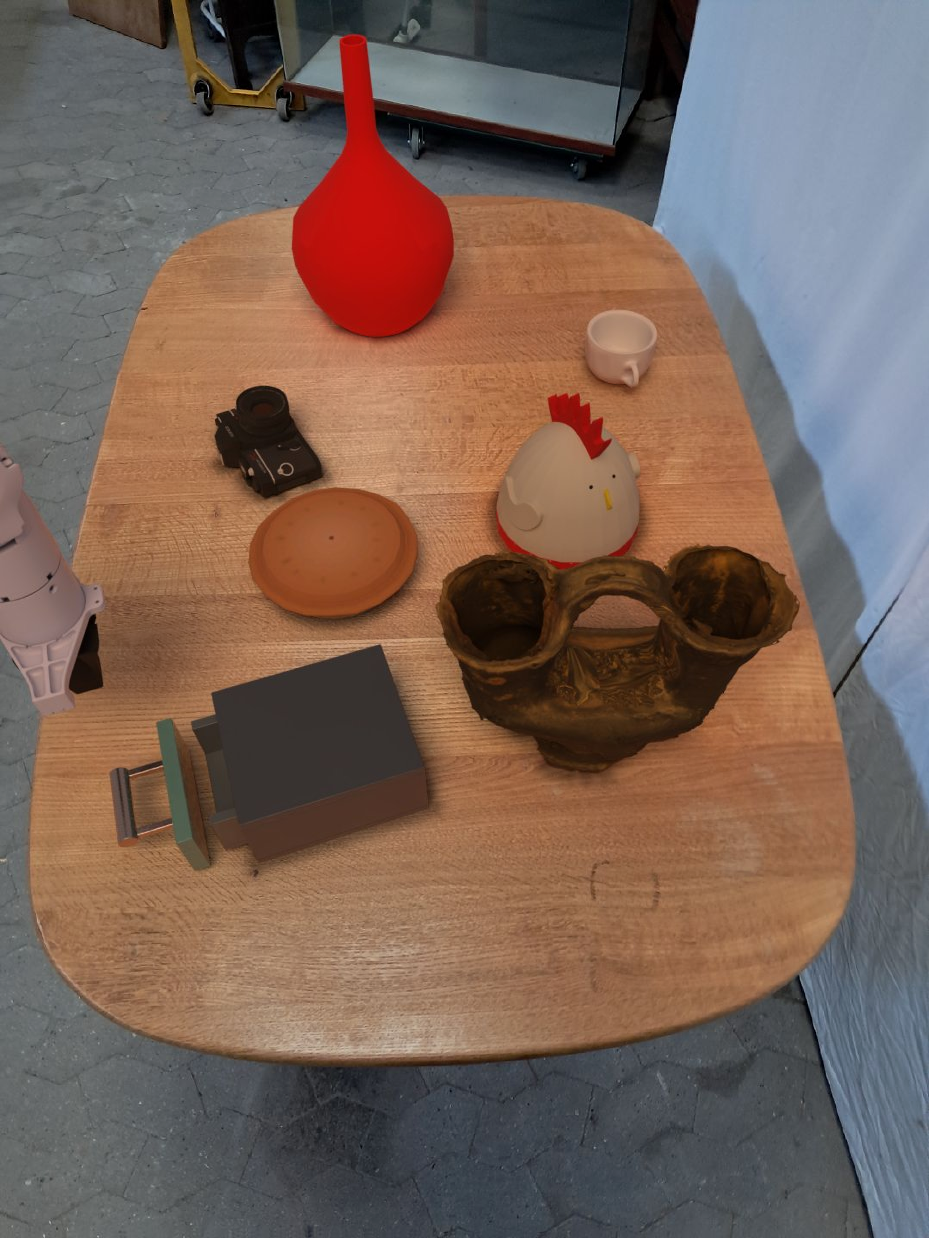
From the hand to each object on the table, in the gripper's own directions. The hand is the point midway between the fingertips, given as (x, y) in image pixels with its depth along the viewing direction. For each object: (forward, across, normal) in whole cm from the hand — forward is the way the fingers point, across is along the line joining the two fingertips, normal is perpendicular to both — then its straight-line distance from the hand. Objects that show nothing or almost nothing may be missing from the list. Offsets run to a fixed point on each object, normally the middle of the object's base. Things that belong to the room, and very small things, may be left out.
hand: (88, 683), depth 68 cm
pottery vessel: (+10, -11, -37) cm, 40 cm away
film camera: (+10, +30, -18) cm, 36 cm away
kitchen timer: (+10, +11, -44) cm, 46 cm away
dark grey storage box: (+9, -8, -15) cm, 19 cm away
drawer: (+9, -8, -8) cm, 14 cm away
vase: (+10, +50, -36) cm, 62 cm away
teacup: (+10, +29, -58) cm, 66 cm away
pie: (+10, +12, -21) cm, 26 cm away
